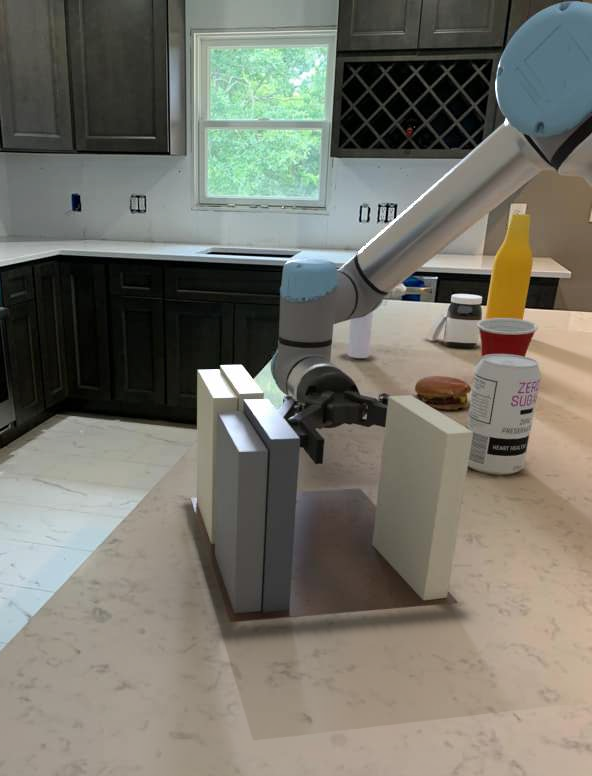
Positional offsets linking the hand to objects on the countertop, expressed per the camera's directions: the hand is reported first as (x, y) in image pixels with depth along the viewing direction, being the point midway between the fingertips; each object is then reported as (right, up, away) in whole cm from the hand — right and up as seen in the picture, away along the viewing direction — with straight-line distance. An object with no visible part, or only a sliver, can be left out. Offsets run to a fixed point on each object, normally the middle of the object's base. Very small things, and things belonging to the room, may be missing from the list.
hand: (382, 449), depth 77 cm
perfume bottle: (+12, +23, +82) cm, 86 cm away
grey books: (-14, -13, -8) cm, 21 cm away
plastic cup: (+36, +15, +65) cm, 75 cm away
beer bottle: (+53, +34, +110) cm, 127 cm away
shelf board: (-8, -11, 0) cm, 14 cm away
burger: (+21, +10, +52) cm, 57 cm away
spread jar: (+37, +29, +98) cm, 108 cm away
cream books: (-17, -8, +4) cm, 19 cm away
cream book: (+1, -12, -6) cm, 13 cm away
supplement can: (+20, -2, +25) cm, 32 cm away
